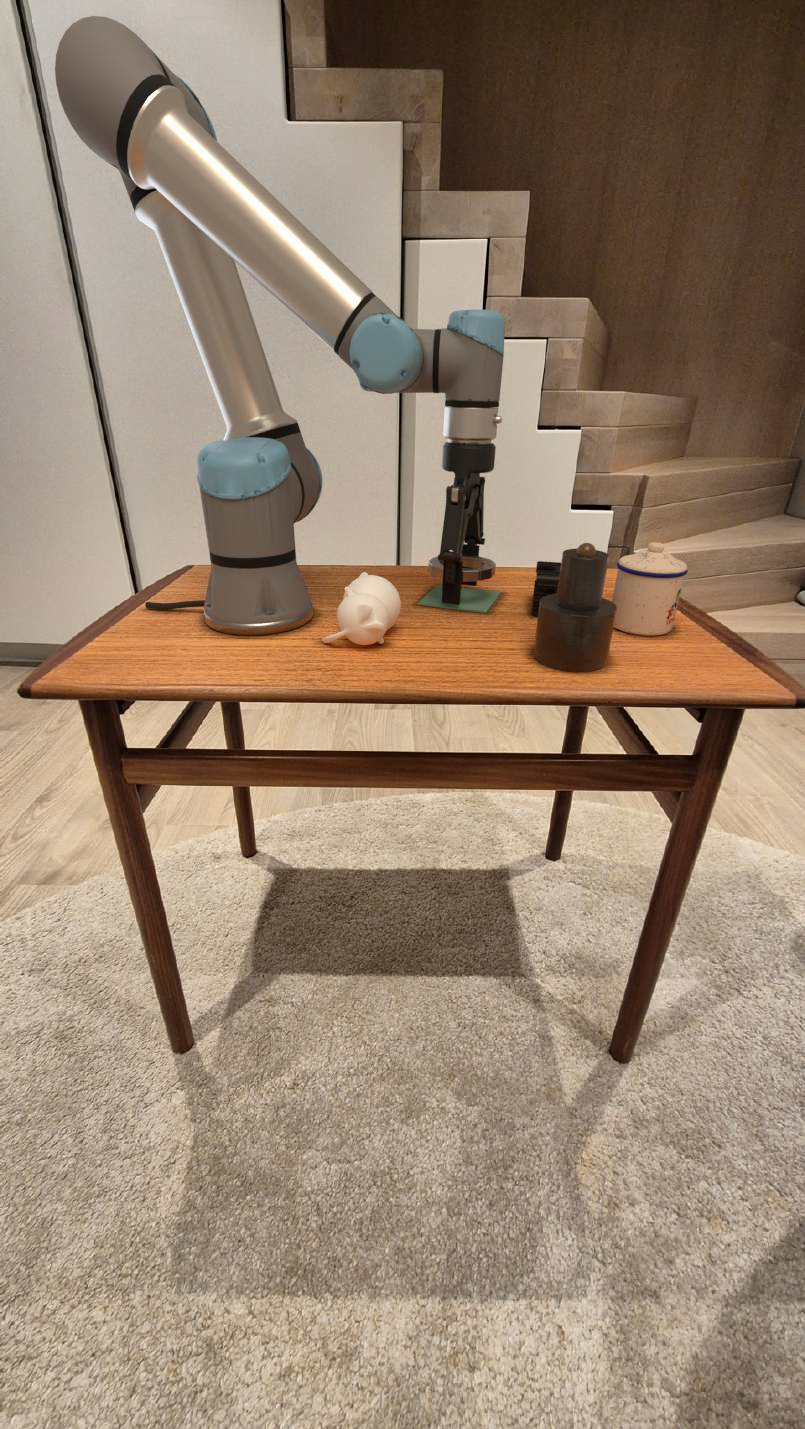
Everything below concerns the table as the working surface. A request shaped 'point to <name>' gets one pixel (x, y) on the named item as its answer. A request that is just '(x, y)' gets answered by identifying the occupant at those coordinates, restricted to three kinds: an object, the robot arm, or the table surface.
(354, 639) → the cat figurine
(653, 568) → the teacup with lid
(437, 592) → the mat
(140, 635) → the table surface
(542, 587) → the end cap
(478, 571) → the segmented gray ring
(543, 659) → the dark stepped cylinder
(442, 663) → the table surface
